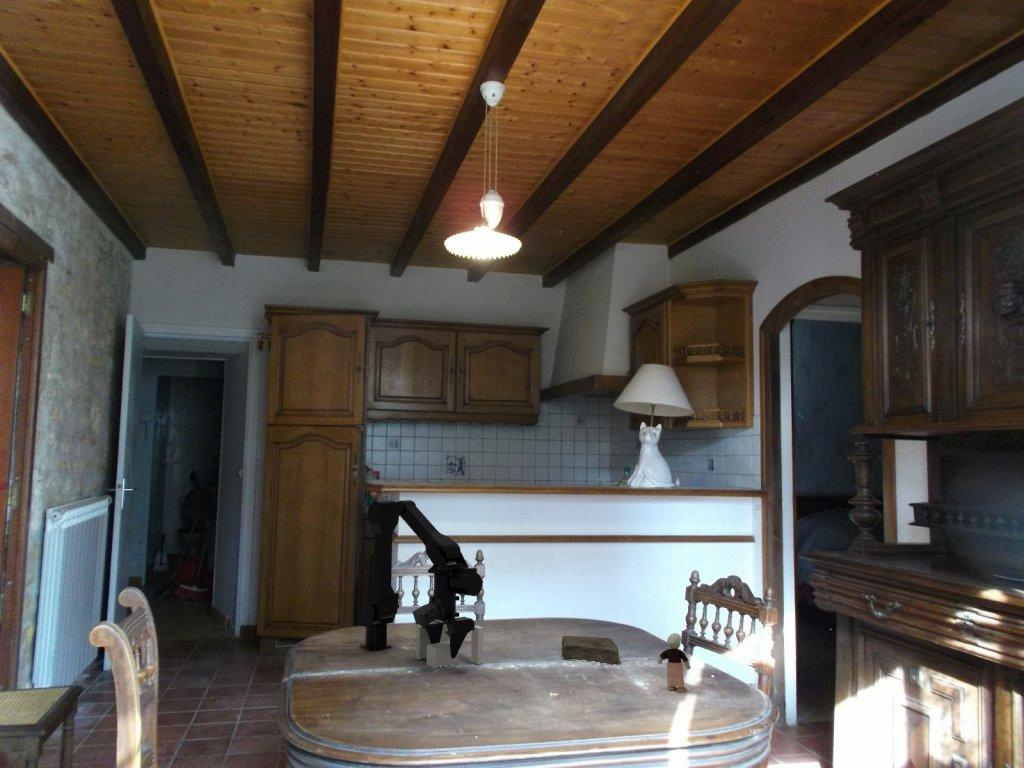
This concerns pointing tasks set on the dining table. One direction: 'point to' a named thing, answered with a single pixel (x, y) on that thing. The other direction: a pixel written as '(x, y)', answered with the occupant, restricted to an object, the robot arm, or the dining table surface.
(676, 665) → the grandmother figurine
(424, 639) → the door
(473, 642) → the wall frame
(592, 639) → the brown stone slab
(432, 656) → the block
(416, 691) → the dining table surface
